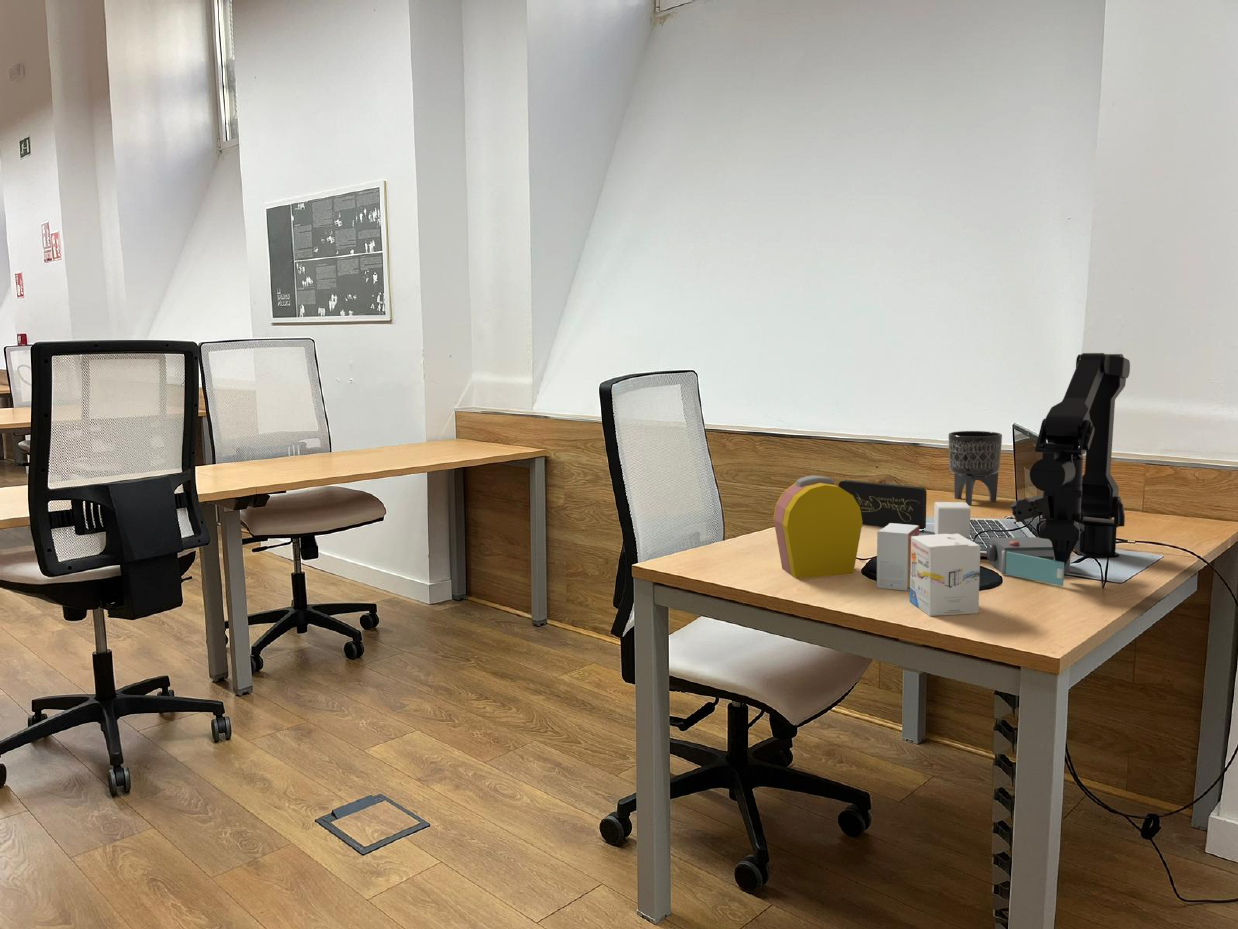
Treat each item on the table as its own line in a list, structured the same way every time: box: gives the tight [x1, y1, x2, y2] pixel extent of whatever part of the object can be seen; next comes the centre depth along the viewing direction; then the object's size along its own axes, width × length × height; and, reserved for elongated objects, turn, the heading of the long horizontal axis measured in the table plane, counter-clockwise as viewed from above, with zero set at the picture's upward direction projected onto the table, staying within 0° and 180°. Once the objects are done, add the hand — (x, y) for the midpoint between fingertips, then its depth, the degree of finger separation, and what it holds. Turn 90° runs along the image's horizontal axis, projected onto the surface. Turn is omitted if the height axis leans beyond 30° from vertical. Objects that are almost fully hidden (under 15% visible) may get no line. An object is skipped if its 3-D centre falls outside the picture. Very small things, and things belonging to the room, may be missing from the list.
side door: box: [1000, 550, 1065, 587], centre depth 167 cm, size 12×1×4 cm, turn 37°
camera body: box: [985, 536, 1071, 574], centre depth 175 cm, size 13×8×6 cm, turn 87°
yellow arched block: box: [772, 474, 863, 580], centre depth 177 cm, size 15×8×18 cm, turn 100°
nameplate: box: [837, 479, 928, 529], centre depth 214 cm, size 21×2×10 cm, turn 48°
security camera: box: [933, 501, 971, 539], centre depth 188 cm, size 6×7×10 cm
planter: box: [948, 430, 1003, 506], centre depth 239 cm, size 13×13×18 cm
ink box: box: [909, 533, 981, 617], centre depth 152 cm, size 9×8×12 cm
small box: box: [876, 523, 920, 592], centre depth 167 cm, size 8×6×10 cm
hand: (1060, 568), depth 166 cm, fingers closed
